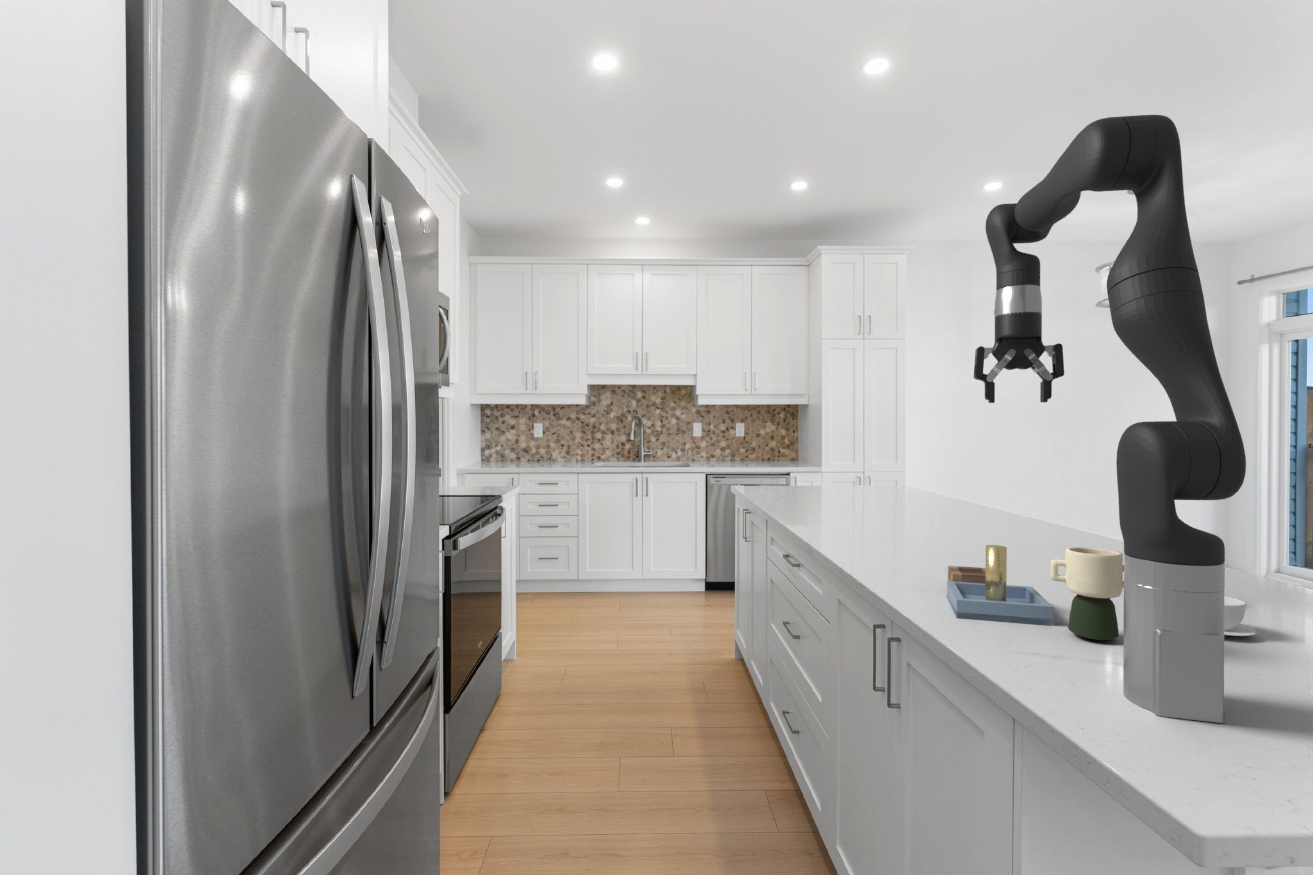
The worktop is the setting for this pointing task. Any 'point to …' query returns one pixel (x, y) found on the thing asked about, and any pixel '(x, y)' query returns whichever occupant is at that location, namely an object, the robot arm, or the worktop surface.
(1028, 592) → the tray
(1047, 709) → the worktop surface
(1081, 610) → the character mug
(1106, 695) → the worktop surface
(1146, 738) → the worktop surface
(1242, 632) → the teacup
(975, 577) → the bracket
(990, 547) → the pin
